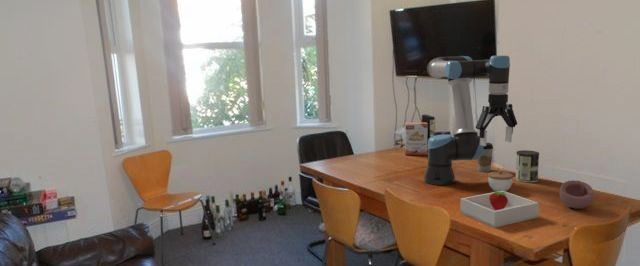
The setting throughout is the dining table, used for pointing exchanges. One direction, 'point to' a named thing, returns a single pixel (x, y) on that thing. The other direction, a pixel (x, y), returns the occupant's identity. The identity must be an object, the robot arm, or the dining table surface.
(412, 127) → the cracker box
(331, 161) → the dining table surface
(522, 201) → the bin
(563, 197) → the mortar and pestle
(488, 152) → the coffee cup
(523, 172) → the coffee can
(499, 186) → the lidded jar
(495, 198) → the strawberry
